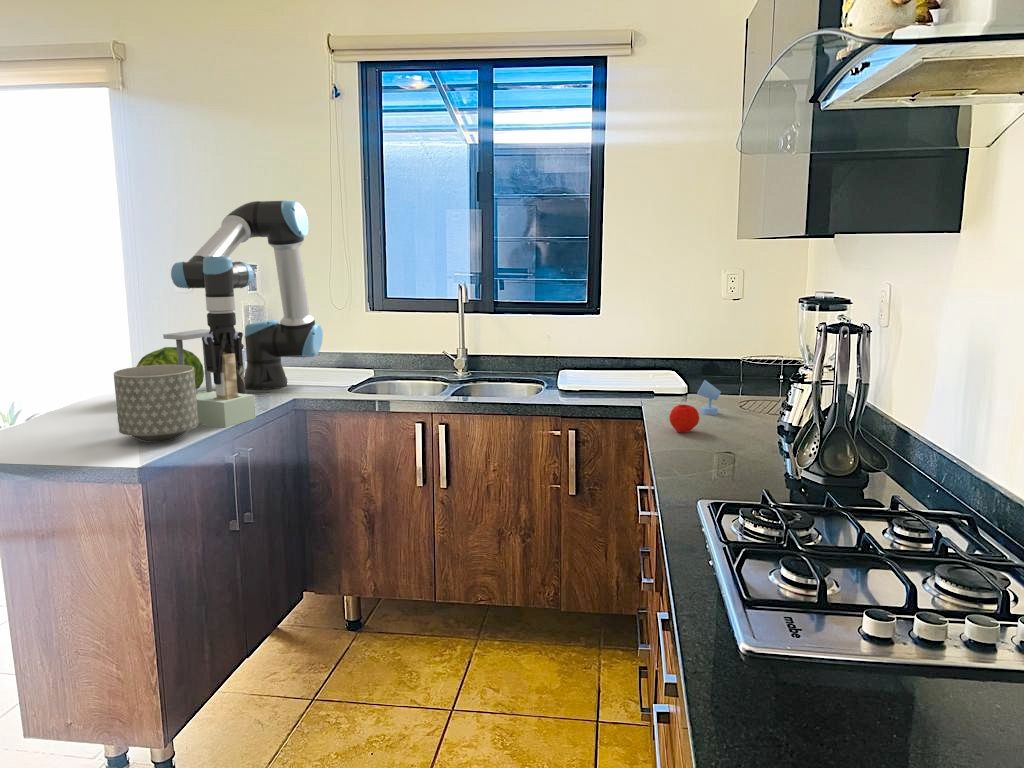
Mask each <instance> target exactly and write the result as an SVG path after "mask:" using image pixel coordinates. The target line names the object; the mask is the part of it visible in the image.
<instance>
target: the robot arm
mask: <svg viewBox="0 0 1024 768" xmlns="http://www.w3.org/2000/svg"><path fill="white" fill-rule="evenodd" d="M309 224H310V223H309V218H308V214H307V212H306V209H305V208H304V207H303V205H302V204H301V203H299V202H298V201H295V200H294V201H293V200H265V201H264V200H263V201H262V200H261V201H259V200H256V201H250V202H247V203H245V204H242V205H241V206H238V207H236V209H233V210H232V211H231V212H229V213H228V214H227V215H226V216H225V217H224V218H223V219H222V221H221V225H220V227H219V228H217V229H218V230H216V231H215V233H214V234H212V236H211V237H210V238H209V239H208V240H207V241H206V242H205V243H204V244H203V245H202V246H201V247H200V248H199V249H198V250H197V251H196V252H195V253H194V255H192V257H191V258H190V259H189V260H188V261H181V262H175V263H174V264H173V265H172V267H171V270H170V277H171V280H172V283H173V285H174V286H175V287H177V288H180V289H204V291H205V305H206V307H205V308H206V311H207V312H208V313H207V314H206V321H207V326H208V327H209V330H210V332H209V335H208V336H206V337H202V338H201V341H203V342H202V345H203V344H204V349H205V358H206V367H207V371H210V372H211V374H213V375H212V376H213V384H214V385H215V391H216V395H219V396H225V382H224V373H221V371H222V355H223V349H225V353H230V354H235V363H236V377H237V376H238V375H237V370H239V369H240V366H242V365H243V366H244V361H243V362H242V356H243V349H242V344H243V343H242V341H243V336H244V341H245V352H246V368H245V371H244V379H245V389H246V390H247V389H248V390H270V389H273V390H274V389H279V388H283V387H287V386H288V385H287V383H288V377H287V376H286V374H285V373H286V372H285V369H284V367H283V364H282V358H303V359H304V358H313V357H316V356H317V355H318V354H319V352H320V350H321V347H322V344H323V335H324V334H323V328H322V326H321V324H318V323H316V320H315V317H314V316H313V315H312V314H311V313H310V309H309V303H308V294H307V289H306V288H307V287H306V281H305V280H306V279H305V273H304V265H303V264H304V263H303V257H302V250H301V245H302V244H303V243H305V237H306V236H307V235H308V233H309V227H310V225H309ZM251 238H267V244H268V246H270V247H271V248H273V252H274V253H273V254H274V258H275V266H276V272H277V279H278V286H279V292H280V299H281V306H282V314H283V317H282V318H281V319H280V321H279V320H278V319H269V320H263V321H257V322H250V323H248V324H246V325H245V327H244V333H243V332H240V331H236V328H235V326H236V324H237V320H236V319H237V317H236V313H235V310H236V305H235V303H236V302H235V293H234V292H235V291H234V290H235V289H243V288H246V287H248V286H250V285H251V284H252V283H253V281H254V278H255V277H254V276H255V273H254V269H253V268H252V266H250V265H249V264H248V262H247V263H246V262H244V261H232V260H233V259H232V258H231V257H230V256H231V254H232V253H233V252H234V251H235V250H236V249H237V248H238V247H239V246H240V244H242V243H245V242H247V241H249V239H251ZM217 345H220V346H217ZM216 367H217V368H216ZM237 380H238V377H237Z"/></svg>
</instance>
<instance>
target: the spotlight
mask: <svg viewBox="0 0 1024 768" xmlns="http://www.w3.org/2000/svg"><path fill="white" fill-rule="evenodd" d="M721 393H722V391H721V390H719V389H718V388H716V387H715V386H714V385H713V384H711V383H710V382H708V381H707V380H706V379H704V380H703V381H702V383H701V385H700V387H699V389H698V391H697V394H696V395H698V396H701V397H703V398H707V399H708V406H707V405H705V406H702V407H701V414H702V415H706V416H716V415H718V412H719V411H718V407H716V406H712V400H713V401H717V400H718V399H719V397H720V395H721Z"/></svg>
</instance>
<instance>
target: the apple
mask: <svg viewBox="0 0 1024 768" xmlns="http://www.w3.org/2000/svg"><path fill="white" fill-rule="evenodd" d="M668 419H669V422H670V425H671V426H672V427H673V429H674V430H675V431H676V432H678V433H682V434H686V433H689V432H691V431H692V430H693V429H694V428H695V427H696V426H697V425H698V424H699V422H700V414H699V412H698V410H697V408H696V407H695V406H692V405H691V404H690V405H689V404H678V405H675V406H674V407H673V408H671V411H670V413H669V418H668Z"/></svg>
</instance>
